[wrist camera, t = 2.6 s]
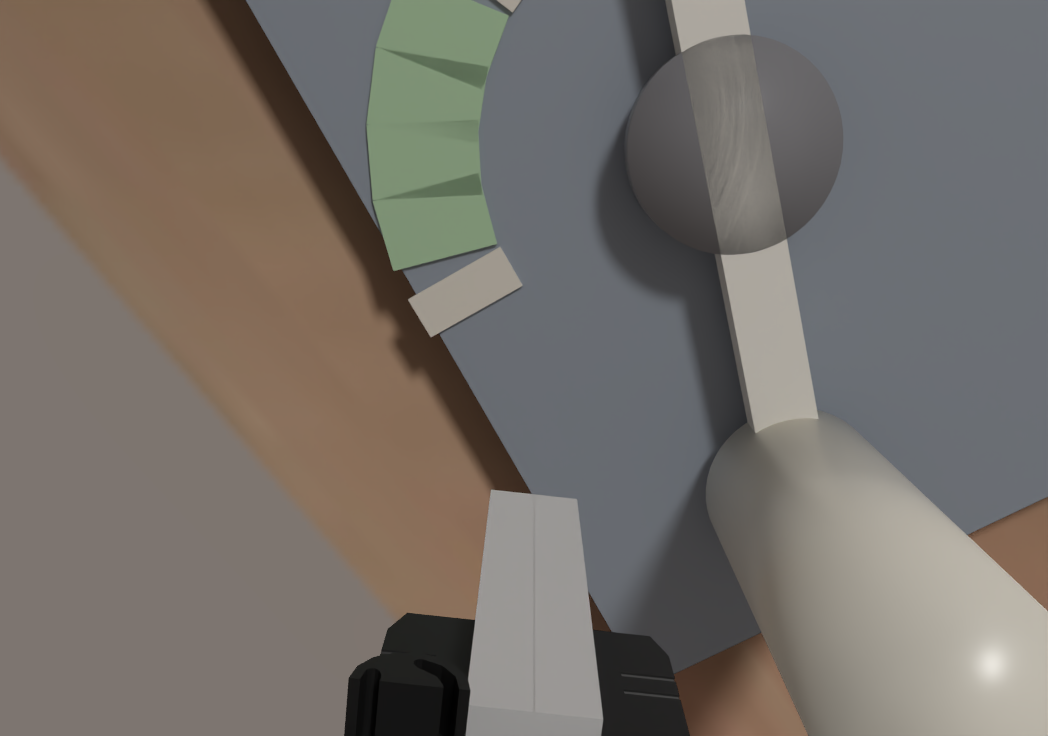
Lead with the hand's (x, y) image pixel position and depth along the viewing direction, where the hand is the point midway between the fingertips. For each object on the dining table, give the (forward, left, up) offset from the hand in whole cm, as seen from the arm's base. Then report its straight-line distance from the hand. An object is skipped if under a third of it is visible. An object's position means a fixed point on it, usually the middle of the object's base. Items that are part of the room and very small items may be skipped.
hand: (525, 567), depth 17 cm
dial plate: (-4, +7, -7) cm, 11 cm away
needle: (-3, +7, -6) cm, 10 cm away
